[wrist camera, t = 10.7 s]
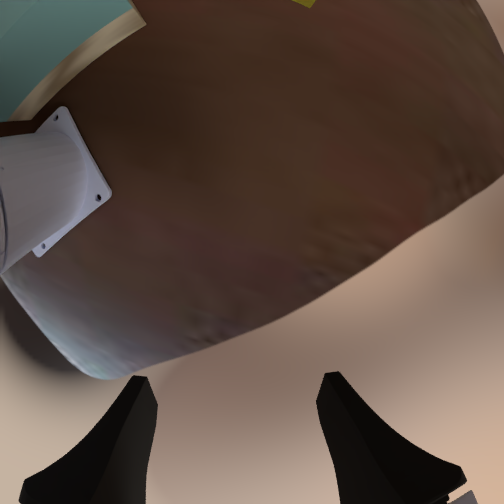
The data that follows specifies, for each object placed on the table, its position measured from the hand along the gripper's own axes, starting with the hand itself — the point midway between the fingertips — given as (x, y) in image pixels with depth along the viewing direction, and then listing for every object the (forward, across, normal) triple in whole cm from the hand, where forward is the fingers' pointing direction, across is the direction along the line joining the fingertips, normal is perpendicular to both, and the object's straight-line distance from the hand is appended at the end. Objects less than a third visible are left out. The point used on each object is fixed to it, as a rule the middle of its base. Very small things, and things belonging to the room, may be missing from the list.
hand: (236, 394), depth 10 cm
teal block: (+7, +12, -17) cm, 22 cm away
